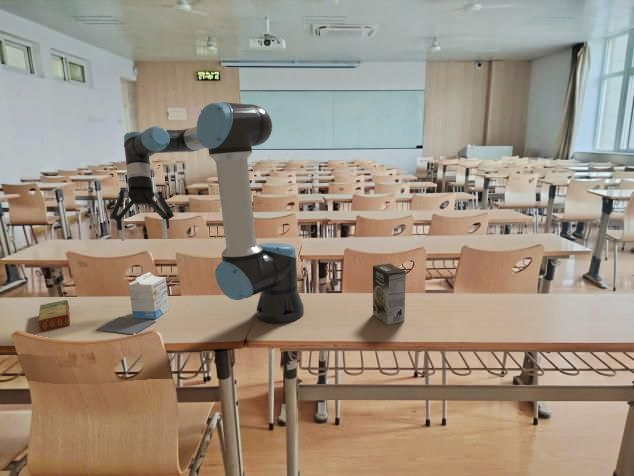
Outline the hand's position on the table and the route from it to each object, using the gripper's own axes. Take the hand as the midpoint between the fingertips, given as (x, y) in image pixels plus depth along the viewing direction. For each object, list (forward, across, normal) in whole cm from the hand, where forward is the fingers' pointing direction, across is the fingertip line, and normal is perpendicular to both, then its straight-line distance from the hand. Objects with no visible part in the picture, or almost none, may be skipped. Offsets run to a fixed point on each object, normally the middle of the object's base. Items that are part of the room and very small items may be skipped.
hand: (145, 239), depth 143 cm
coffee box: (+36, -55, +53) cm, 85 cm away
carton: (+23, +26, -17) cm, 38 cm away
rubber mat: (+28, +9, +4) cm, 29 cm away
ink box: (+25, 0, 0) cm, 25 cm away
